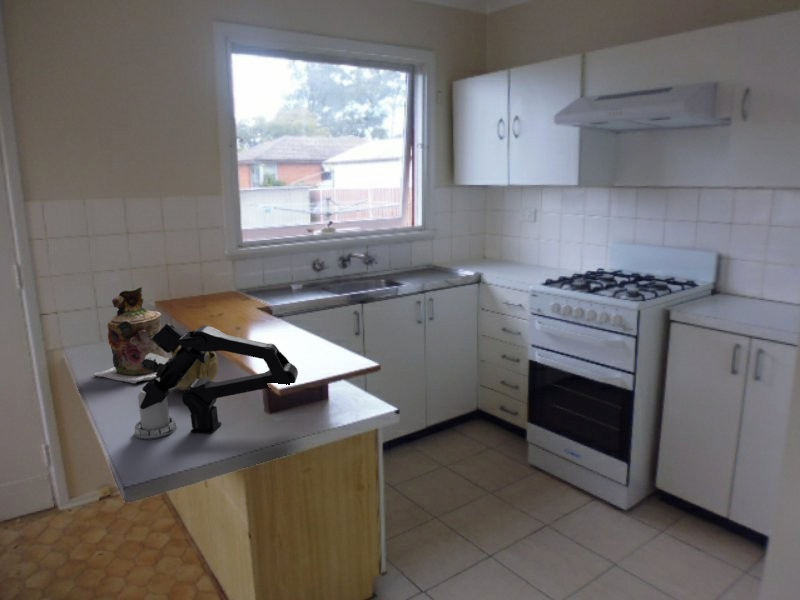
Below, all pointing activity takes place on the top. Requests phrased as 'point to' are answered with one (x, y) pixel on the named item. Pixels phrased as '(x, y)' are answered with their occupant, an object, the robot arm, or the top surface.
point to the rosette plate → (155, 431)
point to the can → (153, 414)
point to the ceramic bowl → (199, 370)
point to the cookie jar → (132, 338)
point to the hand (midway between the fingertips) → (147, 402)
